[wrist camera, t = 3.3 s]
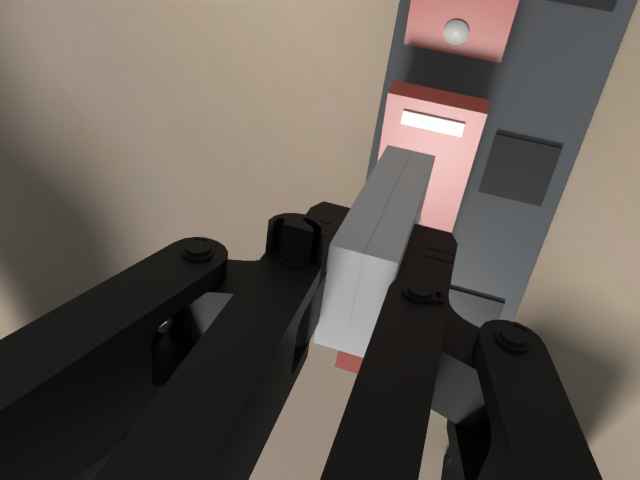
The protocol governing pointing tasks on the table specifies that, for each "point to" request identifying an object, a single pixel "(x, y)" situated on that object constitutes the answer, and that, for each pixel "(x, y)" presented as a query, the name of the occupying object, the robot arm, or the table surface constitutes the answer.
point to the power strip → (515, 136)
